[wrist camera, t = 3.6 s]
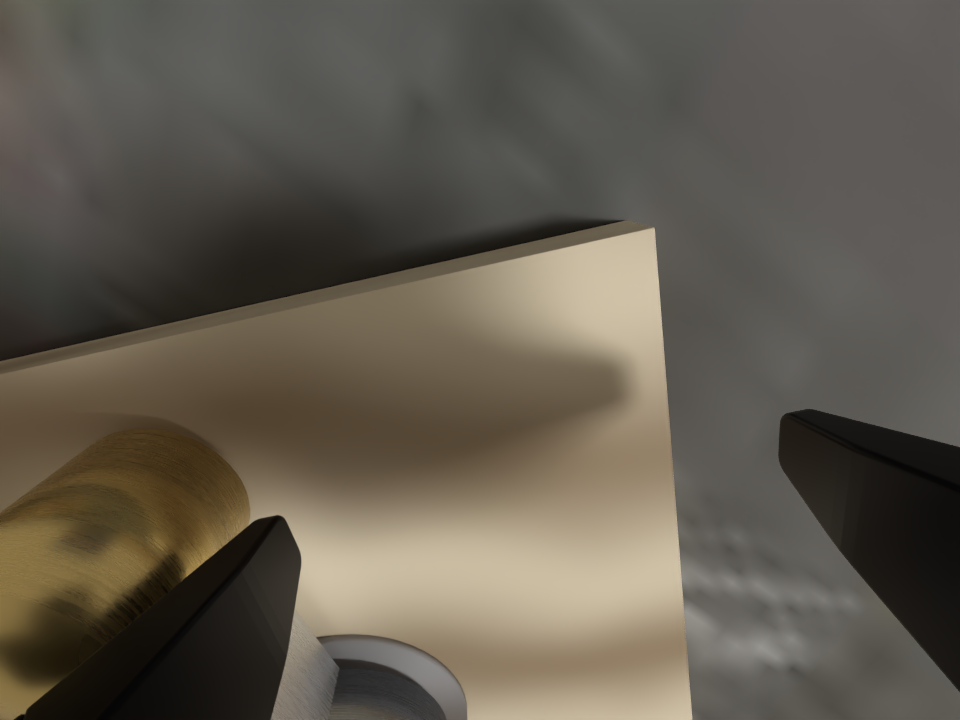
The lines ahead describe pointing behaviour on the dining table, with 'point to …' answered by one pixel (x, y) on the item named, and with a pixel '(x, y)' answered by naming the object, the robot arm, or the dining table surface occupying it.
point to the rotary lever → (146, 574)
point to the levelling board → (431, 465)
